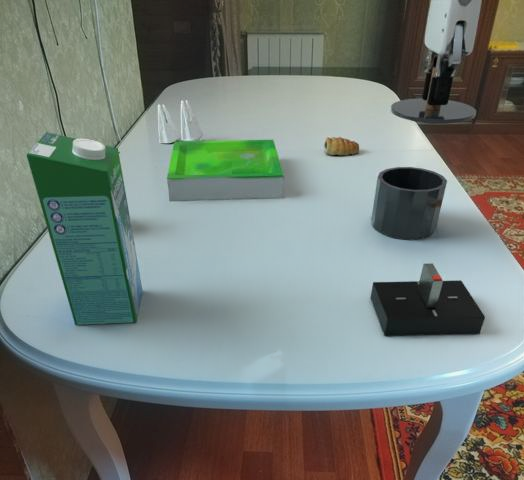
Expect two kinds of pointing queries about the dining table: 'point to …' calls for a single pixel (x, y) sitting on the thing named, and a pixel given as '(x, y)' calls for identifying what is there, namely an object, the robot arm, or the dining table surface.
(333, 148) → the pastry
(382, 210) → the pot
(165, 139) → the shaker set
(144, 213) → the dining table surface
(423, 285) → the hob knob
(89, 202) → the milk carton
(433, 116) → the lid
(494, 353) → the dining table surface
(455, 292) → the panel
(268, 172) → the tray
